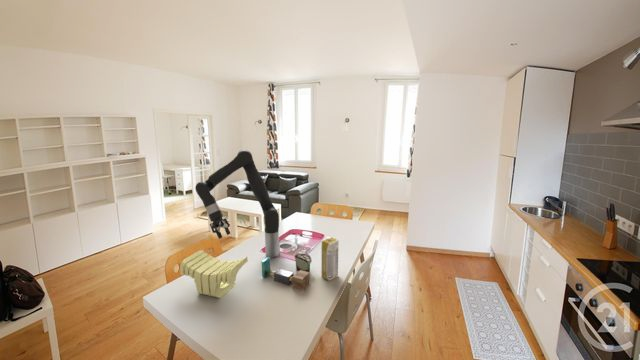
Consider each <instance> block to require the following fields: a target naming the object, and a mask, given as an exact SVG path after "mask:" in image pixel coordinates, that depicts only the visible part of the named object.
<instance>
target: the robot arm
mask: <svg viewBox="0 0 640 360" xmlns="http://www.w3.org/2000/svg"><path fill="white" fill-rule="evenodd" d="M241 168H243V170H244V172H245V174H246V177H247V182H248V185H249V187H250V189H251V191H252V194H253V196H254V197H255V198H256V200H257V201H258V203H259V205H260V207H261V210H262V214H263V216H264V238H265V239H264V243H265V244H264V246H265V256H266V258H267V257H270V259H272V258H276V257H279V255H280V253H281V250H280V249H281V246H280V242H281V241H280V238H279V237H280V236H279V235H280V233H279V232H280V231H279V229H280V214H279V212H278V209H276V207H275V206H274V204H273V202H272V201H271V198H270V195H269V194H270V193H269V190H268V188H267V185H266V184H265V181H264V179H263V177H262V176H261V174H260V172H259V170H258V169H257V167H256V164H255V162H254V158H253V154H252V152H251V151H250V150H248V149H241V150H239V151H238V152H237V155H236V156H235V157H234V158H233V159H232V160H231V161H230V162H228V163H227V164H226V165H224V166H222V167H220V168H219V169H217V170H215V171H214V172H213V173H211V174H210V175H209V176H208V178H207V179H206V180H205V181H200V182H197V183H196V184H195V188H194V189H195V191H196V195H198V197H199V198H200V200H201V201H202V203H203V205H204V208H205V211H206V213H207V216H208V218H209V219H210V223H209V226H210V229H211V231H212V233H213V234H216V236H217V237H218V239H219V240H221V239H222V238H223V235H222V233H221V228H222V229H224V231H225V234H226V236H229V235H231V231H230V229H229V228H230V227H231V225H230V222H229V221H228V219H227V218H226V217H225V218H223V217H224V215H223V213H222V210H221V208H220V206H219V205H218V203H217V200H216V199H215V197H214V195H212V194H211V191H212V190H213V189H214V188H215V187H217V186H218V185H219V184H221V183H222V182H223V181H225V180H226V179H227V178H228V177H230V176H231V175H232V174H233V173H235V172H236V171H237V170H240V169H241Z"/></svg>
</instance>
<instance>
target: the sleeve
mask: <svg viewBox="0 0 640 360" xmlns="http://www.w3.org/2000/svg"><path fill="white" fill-rule="evenodd" d="M274 271H275V272H274V277H273V281H274V282H276V283H278V284H281V285H282V284H283V285H286V286H290V285H292V284H293V282H290V279H289V278H290V277H291V276H294V275H295V272H292V271H289V270H287V269H282V268H277V270H274Z"/></svg>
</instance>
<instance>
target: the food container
mask: <svg viewBox="0 0 640 360" xmlns="http://www.w3.org/2000/svg"><path fill="white" fill-rule="evenodd" d="M294 258H295V267H296V268H295V270H296V271H297V272H298V271H300V270H302V271H306V272H309V273H310V272H311V263H312V262H313V261H312V257H311V255H309V254H307V253H297V254H294Z"/></svg>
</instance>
